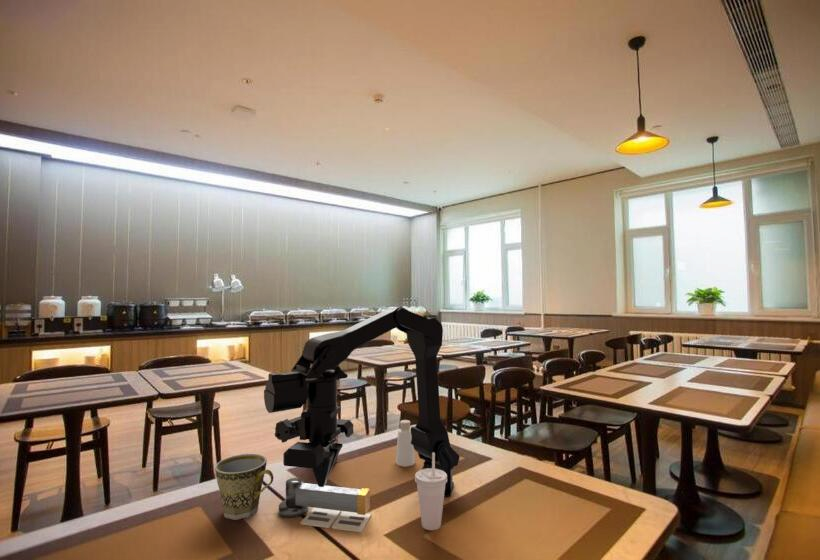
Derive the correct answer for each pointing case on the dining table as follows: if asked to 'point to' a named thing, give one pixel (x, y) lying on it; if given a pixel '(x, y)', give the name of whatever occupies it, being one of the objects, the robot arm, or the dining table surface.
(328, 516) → the label
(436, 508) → the smoothie
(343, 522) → the label
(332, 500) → the swing arm
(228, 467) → the ceramic cup
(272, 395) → the robot arm
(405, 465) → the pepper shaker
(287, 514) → the pivot base
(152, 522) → the dining table surface
